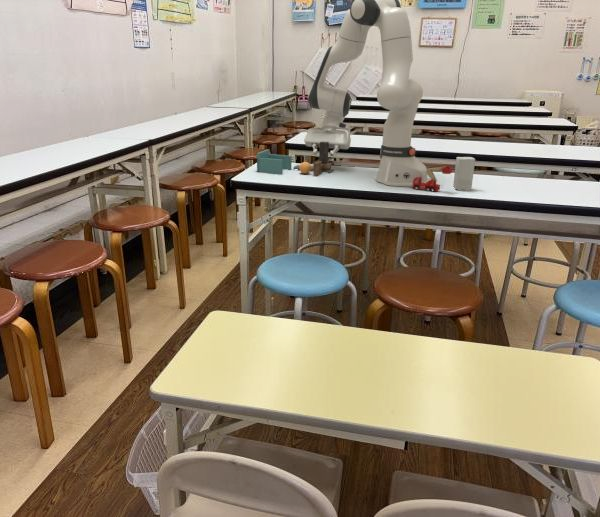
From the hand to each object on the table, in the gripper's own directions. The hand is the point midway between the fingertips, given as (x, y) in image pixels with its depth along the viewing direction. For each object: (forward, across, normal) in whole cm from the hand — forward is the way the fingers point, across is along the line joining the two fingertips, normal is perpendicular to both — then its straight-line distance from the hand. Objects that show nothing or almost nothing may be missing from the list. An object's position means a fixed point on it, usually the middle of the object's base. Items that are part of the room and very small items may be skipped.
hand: (323, 154), depth 218 cm
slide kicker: (+8, 0, +2) cm, 8 cm away
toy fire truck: (+16, +48, -5) cm, 51 cm away
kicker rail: (+5, -4, +6) cm, 9 cm away
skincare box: (+11, +59, 0) cm, 60 cm away
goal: (+10, -20, 0) cm, 23 cm away
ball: (+9, -6, -2) cm, 10 cm away
